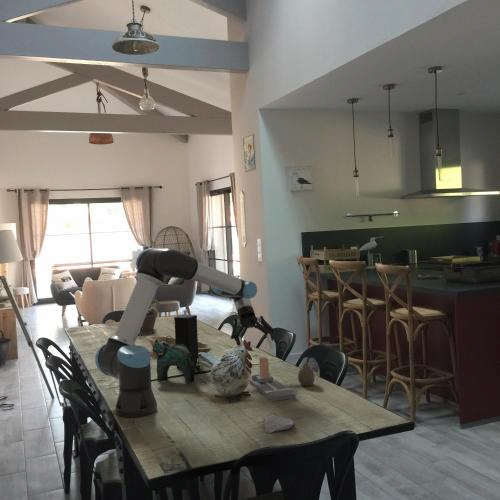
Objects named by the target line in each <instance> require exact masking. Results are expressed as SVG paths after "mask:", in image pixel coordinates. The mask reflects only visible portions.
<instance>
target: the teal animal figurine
mask: <svg viewBox="0 0 500 500" xmlns="http://www.w3.org/2000/svg"><path fill="white" fill-rule="evenodd" d="M168 337H169V338H171V339H172V340H173V336H171V335H167V336H166V337H165V340H161V341H159V340H158V339H155V341H154V344H153V345H152V353H153V355H154V356H155V357H157V360H156V374H157V376H156V378H157V381H165V380H167V379H168V378H169V375H168V374H169V370H170V367H171V366H174V367H177V366H178V367H180V368H181V369H180V370H182V373H183V377H184V379H185V380H184V381H185V384H192V383H195V376H196V367H195V366H194V361H193V357H192V355H191V353H190V351H189V349H188V348H187V347H186V346H184V345H182V344H176V343H175V344H173V345H170V344H169V343H168ZM176 345H181V346H176ZM182 346H184V347H182Z"/></svg>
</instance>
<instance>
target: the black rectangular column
mask: <svg viewBox="0 0 500 500" xmlns="http://www.w3.org/2000/svg"><path fill="white" fill-rule="evenodd" d="M182 311H183V314H181V315H177V316H174V318H173V319H174V320H173V321H174V335H175V336H174V338H175V339H174V340H175V342H174V343H175V345H176V344H182V345H184V346H186V347H187V348H188V349H189V351H190V353H191V355H192V357H193V361H194V366H195V368H197V367H196V363H197V358H198V359H199V344H198V343H199V341H198V340H199V339H198V335H199V334H198V316H197V315H196V314H188V309H184V310H182ZM176 346H181V345H176ZM184 346H182V347H184ZM176 369H180V370H182V369H181V368H180V367H178V366H176Z"/></svg>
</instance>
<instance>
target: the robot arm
mask: <svg viewBox="0 0 500 500" xmlns="http://www.w3.org/2000/svg"><path fill="white" fill-rule="evenodd" d="M135 266H136V273H135V275H136V277H137V281H136V282H135V284H134V287H133V289H132V292H131V294H130V296H129V300H128V302H127V303H126V306H125V308H124V311H123V313H122V316H121V318H120V320H119V322H118V325H117V327H116V330H115V331H114V332H115V333H114V334H113V335H111V336H109V337H108V339H107V341H106V342H105V344H103V345H102V346H100V347H99V348H98V349H97V351H96V354H95V357H94V358H95V359H94V362H95V365H96V368H97V369H98V371H99V372H101V373H102V374H104V375H106V376H107V377H112V378H115V379H117V380H118V386H119V387H118V388H119V389H118V390H119V392H118V396H117V399H116V403H115V414H116V415H117V416H119V417H121V418H123V417H124V418H139V417H145V416H148V415H151V414H154V413H155V412H156V411H157V410H158V403H157V399H156V397H155V394H154V392H153V389H152V374H151V371H152V369H151V360H152V359H151V354H150V351H149V349H148V348H147V347H145V346H142V345H136V341H137V338H138V335H139V333H140V331H141V329H142V327H143V324H144V320H145V318H146V317H147V314H148V311H149V308H150V307H151V304H152V301H153V299H154V297H155V294H156V292H157V289H158V288H159V287H161V286H163V284H164V282H165V280H166V278H172V279H173V278H175V279H182V280H184V281H190V280H192V281H195V282H198V283H201V284H202V285H206V286H209V287H211V290H212V292H214V293H215V294H217V295H220V296H222V297H226V298H229V299H230V300H233V302H234V306H235V310H236V312H237V317H238V319H237V318H236V317H235V318H234V319H233V323H232V324H233V327H232V331H231V335H230V339H231V340H234V341H235V343H236V345H237V346H239V348H240V347H242V346H244V344H243V340H242V337H241V334H242V332H243V331H244V330H245V328H246V329H249V328H250V329H253V328H255V329H258V330H259V331H260V332H261V333H263V334H264V335H266V339H267V343H268V345H269V349H270V350H272V349H273V348H274V343H273V341H274V337H273V335H275V334H274V333H275V329H274V328H273V327H272V326H271V325H270V324H269V322H267V321H266V320H265V318H264V316H262V315H260V316H259V317H257V316H256V312H255V310H254V307H253V304H252V300H251V299H253V298H255V297H256V295H257V292H258V287H257V284H256V283H255V282H254V281H251V280H243V279H242V278H238V277H236V276H234V275H232V274H228V273H226V272H224V271H221V270H219V269H217V268H215V267H214V268H213V267H212V266H209V265H206V264H204V263H201V262H199V261H198V259H197V258H195V257H193V256H191V255H188V254H186V253H184V252H182V251H180V250H177V249H174V248H169V247H168V248H162V247H161V248H159V247H158V248H157V247H150V248H146V249H144V250H142V251H141V252H140V253H139V254H138V256H137V258H136V262H135ZM239 324H241V326H240V327H239V330H238V331H236V330H237V326H238V325H239ZM236 332H237V333H236Z"/></svg>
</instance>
